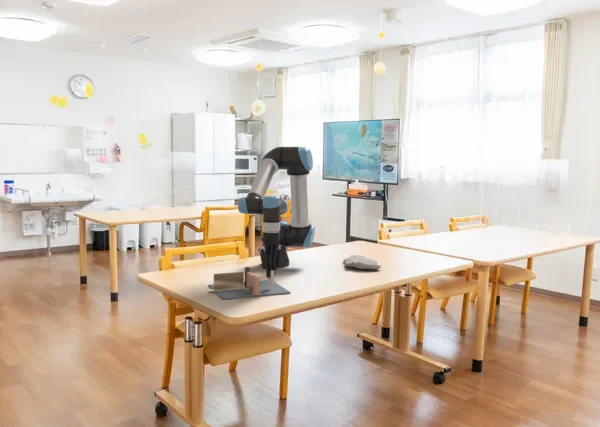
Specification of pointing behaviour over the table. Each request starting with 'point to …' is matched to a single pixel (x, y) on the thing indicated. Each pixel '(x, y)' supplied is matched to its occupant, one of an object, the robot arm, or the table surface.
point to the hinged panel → (253, 283)
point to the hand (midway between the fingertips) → (270, 284)
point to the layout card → (243, 292)
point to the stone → (361, 262)
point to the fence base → (230, 280)
